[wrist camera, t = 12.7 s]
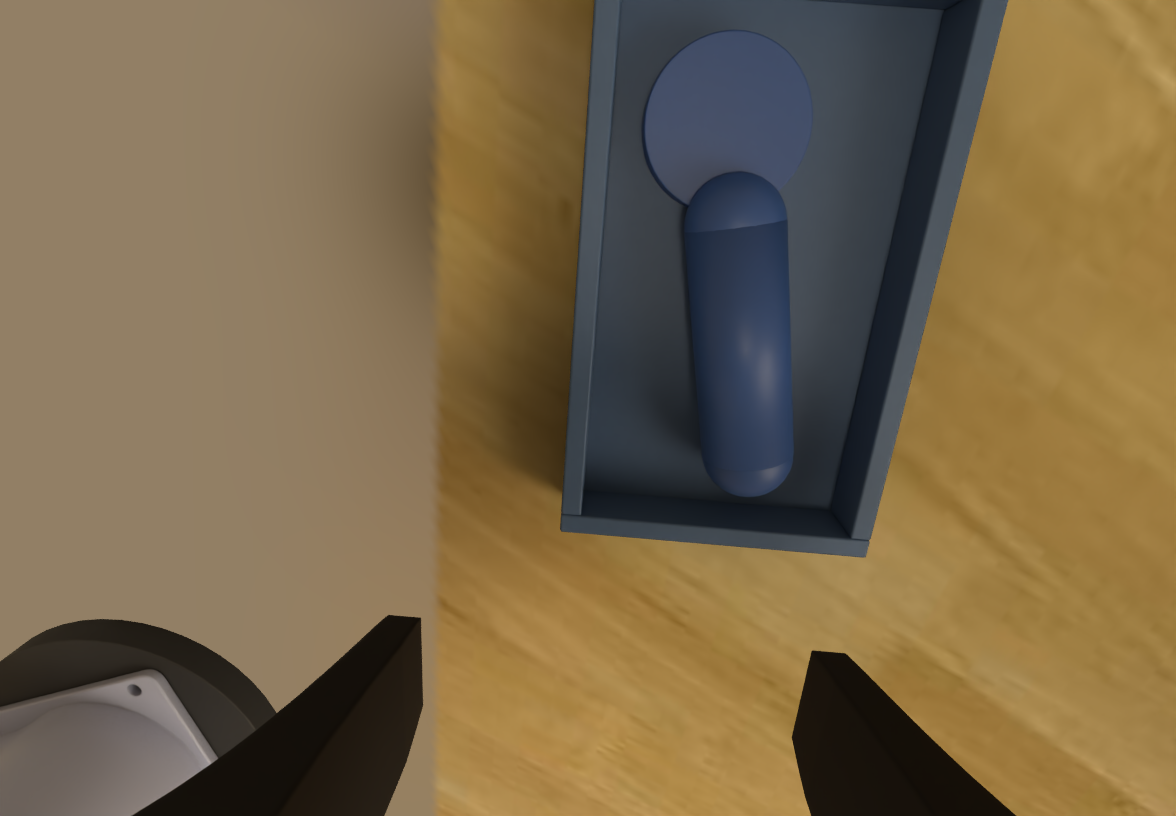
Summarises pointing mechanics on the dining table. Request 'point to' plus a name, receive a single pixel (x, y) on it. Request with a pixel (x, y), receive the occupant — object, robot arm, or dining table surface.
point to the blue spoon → (735, 239)
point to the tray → (816, 266)
